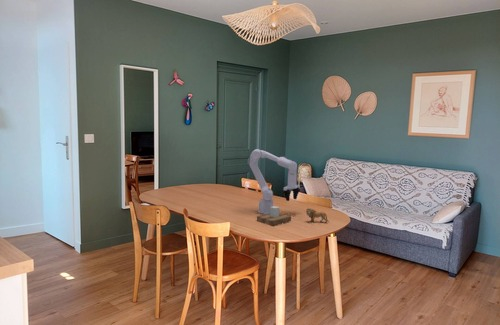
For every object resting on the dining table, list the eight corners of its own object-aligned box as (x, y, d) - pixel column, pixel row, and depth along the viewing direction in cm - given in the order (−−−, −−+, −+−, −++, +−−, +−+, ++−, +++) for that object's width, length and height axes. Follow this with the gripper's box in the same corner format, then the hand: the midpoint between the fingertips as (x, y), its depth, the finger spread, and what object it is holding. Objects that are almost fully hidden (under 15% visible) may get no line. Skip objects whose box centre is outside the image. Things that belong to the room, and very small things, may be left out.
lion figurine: (306, 223, 226) (307, 209, 225) (304, 220, 232) (305, 206, 230) (329, 223, 227) (330, 209, 226) (327, 220, 233) (328, 207, 231)
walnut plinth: (256, 220, 228) (257, 216, 228) (274, 216, 239) (274, 212, 239) (273, 226, 218) (273, 221, 218) (290, 221, 229) (291, 216, 229)
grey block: (269, 216, 228) (270, 207, 227) (274, 215, 231) (274, 206, 230) (274, 217, 225) (274, 208, 225) (278, 216, 228) (279, 207, 227)
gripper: (289, 181, 235) (288, 202, 237) (303, 179, 245) (302, 199, 247) (281, 180, 240) (280, 200, 242) (295, 178, 250) (294, 197, 252)
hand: (291, 199), depth 245 cm, fingers open, 7 cm apart
